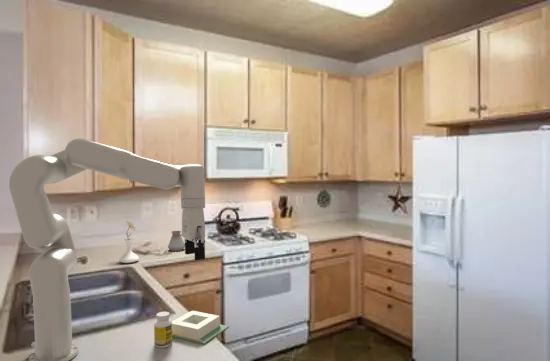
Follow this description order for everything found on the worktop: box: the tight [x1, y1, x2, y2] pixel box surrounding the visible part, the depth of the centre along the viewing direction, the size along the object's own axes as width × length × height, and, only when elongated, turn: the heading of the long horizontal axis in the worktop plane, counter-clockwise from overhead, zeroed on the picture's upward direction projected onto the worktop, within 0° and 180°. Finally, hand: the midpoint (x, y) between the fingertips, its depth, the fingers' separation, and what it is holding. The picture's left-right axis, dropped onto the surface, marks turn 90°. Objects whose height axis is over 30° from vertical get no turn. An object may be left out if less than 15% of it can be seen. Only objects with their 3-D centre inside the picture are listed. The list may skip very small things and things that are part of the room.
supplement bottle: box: [153, 311, 173, 349], centre depth 120 cm, size 5×5×10 cm
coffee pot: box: [167, 230, 185, 252], centre depth 262 cm, size 21×12×15 cm, turn 127°
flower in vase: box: [118, 220, 140, 264], centre depth 229 cm, size 13×11×25 cm
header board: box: [171, 310, 230, 346], centre depth 129 cm, size 18×14×4 cm
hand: (194, 256), depth 122 cm, fingers open, 9 cm apart
